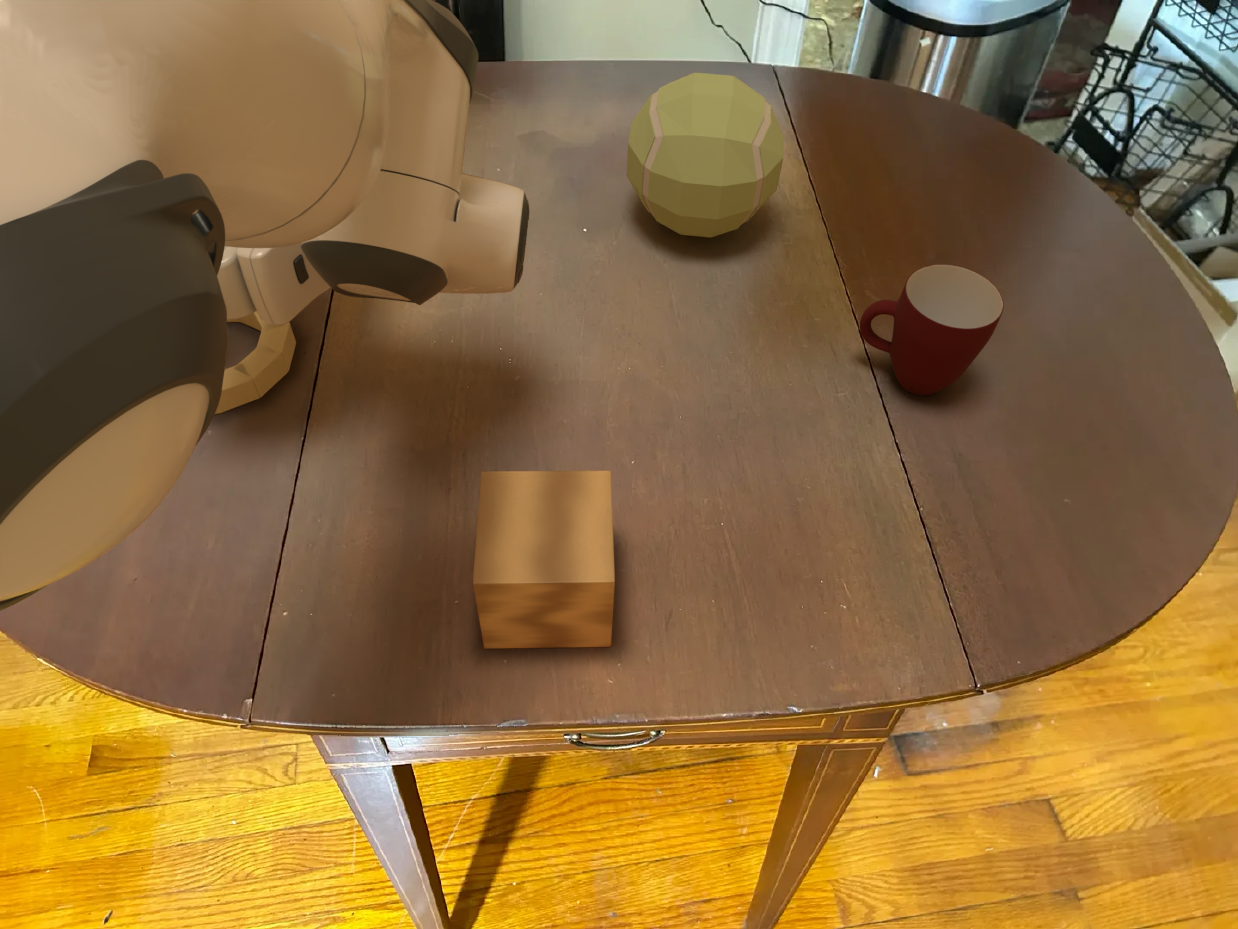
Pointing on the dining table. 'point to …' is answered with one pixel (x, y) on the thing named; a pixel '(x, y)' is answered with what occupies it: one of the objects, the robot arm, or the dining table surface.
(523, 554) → the block stand
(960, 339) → the mug
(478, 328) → the dining table surface
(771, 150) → the decorative sphere
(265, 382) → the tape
